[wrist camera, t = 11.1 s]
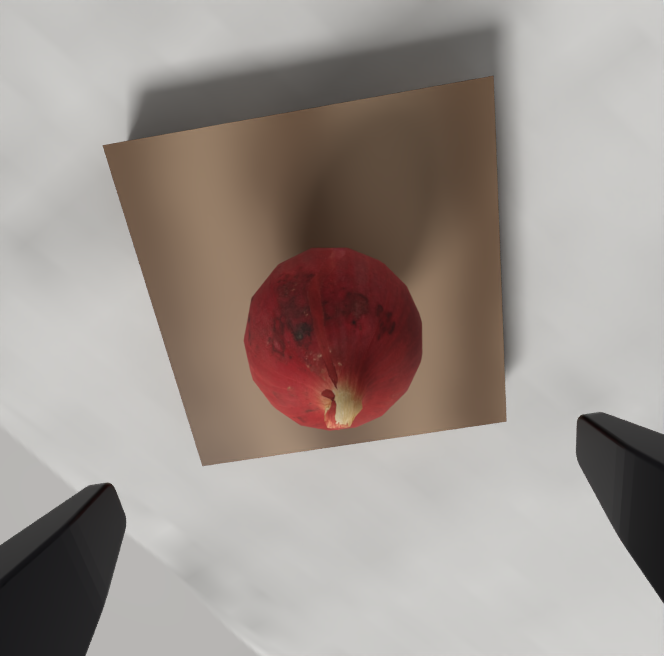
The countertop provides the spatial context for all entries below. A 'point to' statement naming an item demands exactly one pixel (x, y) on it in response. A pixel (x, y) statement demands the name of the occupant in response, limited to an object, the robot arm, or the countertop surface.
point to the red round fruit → (333, 338)
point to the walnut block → (323, 232)
